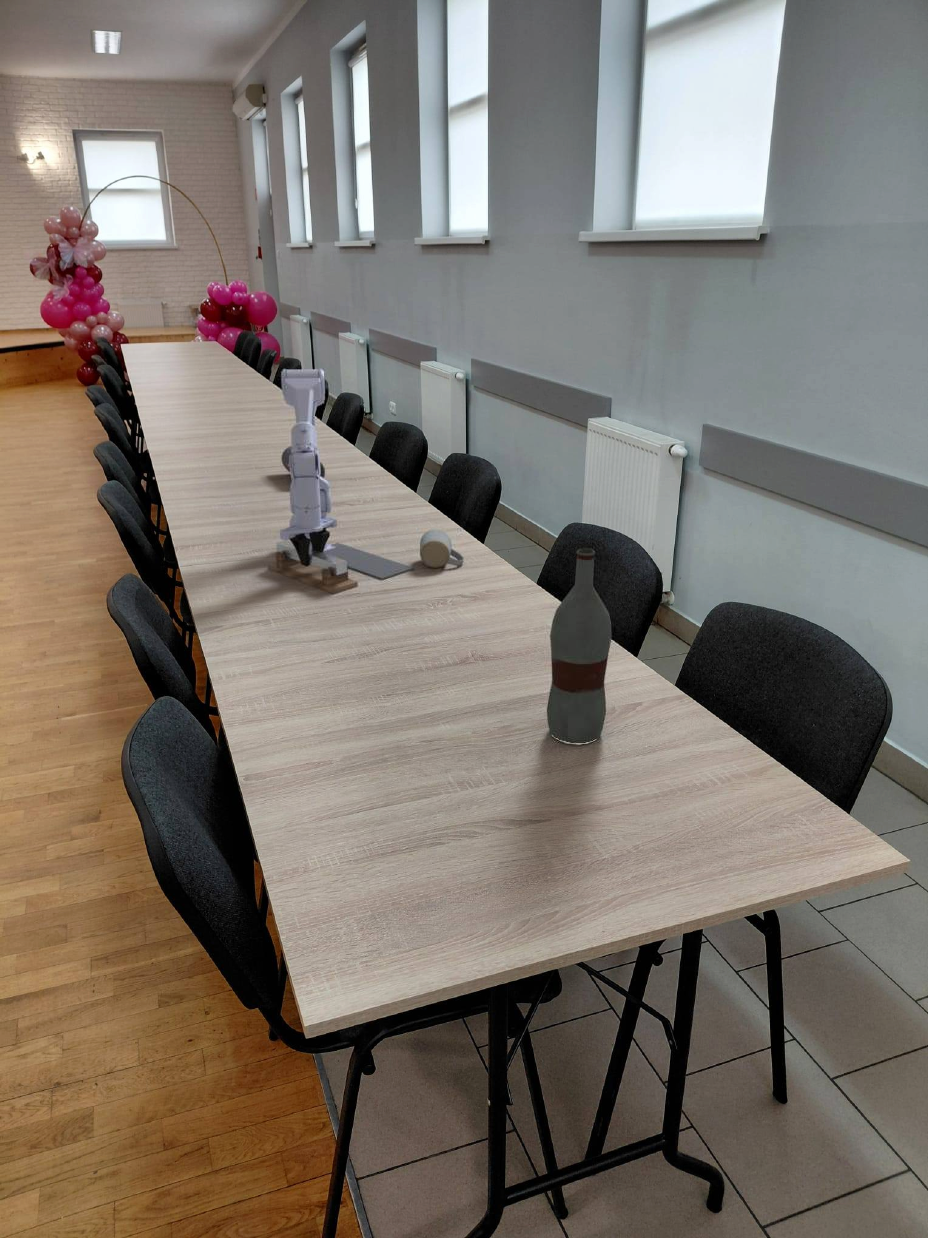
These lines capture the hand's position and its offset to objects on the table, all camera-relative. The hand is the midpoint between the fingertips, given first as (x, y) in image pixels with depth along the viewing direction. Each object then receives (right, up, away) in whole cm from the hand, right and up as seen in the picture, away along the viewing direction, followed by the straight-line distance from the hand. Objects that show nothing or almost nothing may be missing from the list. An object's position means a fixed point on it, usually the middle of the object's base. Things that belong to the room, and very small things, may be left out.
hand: (311, 563), depth 206 cm
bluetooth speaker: (-17, +32, +86) cm, 93 cm away
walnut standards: (0, -3, +1) cm, 3 cm away
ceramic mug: (+30, 0, +11) cm, 31 cm away
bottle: (+53, -31, -64) cm, 89 cm away
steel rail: (0, 0, 0) cm, 0 cm away
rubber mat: (+10, +1, +12) cm, 15 cm away
